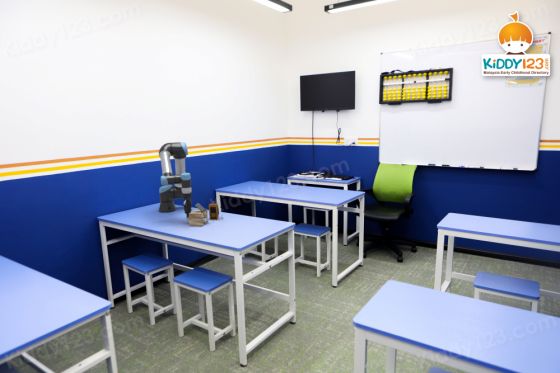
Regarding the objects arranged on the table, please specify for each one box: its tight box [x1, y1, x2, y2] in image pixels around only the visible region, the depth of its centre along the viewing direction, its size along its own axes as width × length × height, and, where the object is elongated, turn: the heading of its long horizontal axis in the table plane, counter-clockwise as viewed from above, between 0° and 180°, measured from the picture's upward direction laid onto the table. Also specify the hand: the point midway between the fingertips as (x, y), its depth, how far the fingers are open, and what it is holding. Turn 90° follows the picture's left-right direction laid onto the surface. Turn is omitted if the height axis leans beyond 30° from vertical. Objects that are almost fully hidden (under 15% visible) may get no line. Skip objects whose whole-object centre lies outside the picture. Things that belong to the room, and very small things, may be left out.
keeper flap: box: [195, 202, 206, 211], centre depth 280 cm, size 6×8×1 cm
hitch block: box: [188, 208, 209, 227], centre depth 282 cm, size 14×10×12 cm
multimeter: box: [206, 196, 223, 221], centre depth 297 cm, size 15×10×20 cm
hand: (188, 221), depth 284 cm, fingers closed
